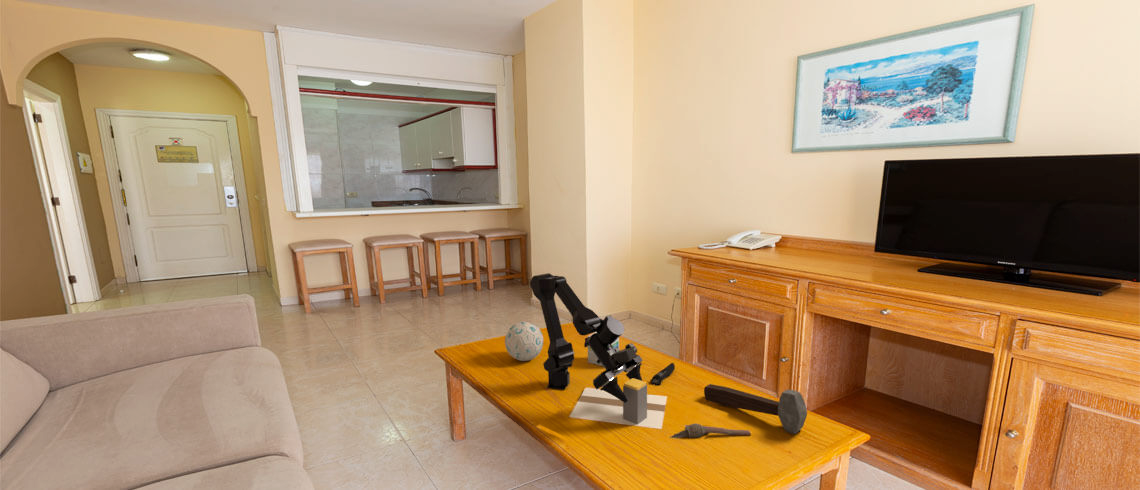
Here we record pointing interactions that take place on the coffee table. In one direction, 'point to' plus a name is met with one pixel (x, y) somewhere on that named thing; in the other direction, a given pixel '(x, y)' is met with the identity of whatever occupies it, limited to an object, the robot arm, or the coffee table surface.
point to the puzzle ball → (524, 341)
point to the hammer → (763, 404)
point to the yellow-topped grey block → (635, 401)
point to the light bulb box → (592, 357)
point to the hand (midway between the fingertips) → (635, 396)
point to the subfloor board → (616, 408)
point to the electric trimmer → (663, 374)
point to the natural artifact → (706, 431)
